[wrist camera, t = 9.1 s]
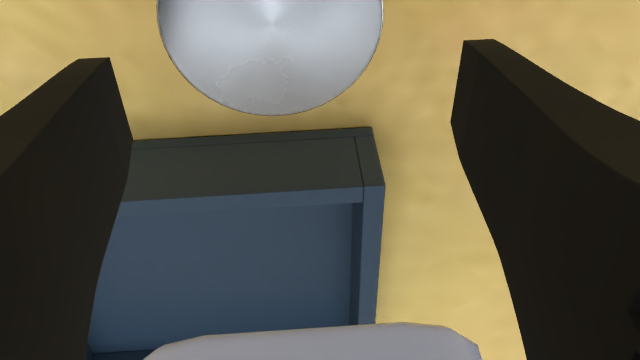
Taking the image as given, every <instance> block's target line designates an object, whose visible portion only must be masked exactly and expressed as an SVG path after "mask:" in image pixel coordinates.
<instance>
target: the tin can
mask: <svg viewBox="0 0 640 360" xmlns="http://www.w3.org/2000/svg"><path fill="white" fill-rule="evenodd" d="M156 9H157V22H158V27H159V32H160V36H161V38H162V41H163V44H164V47H165V49H166V51H167V53H168V55H169V57H170V59H171V60H172V62H173V63H174V65H175V66H176V68H177V69H178V71H179V72H180V73H181V74H182V75H183V76H184V78H185V79H186V80H187V81H188V82H189V83H190V84H191V85H193V86H194V87H195V88H196V89H197V90H198V91H200V92H201V93H202V94H204V95H205V96H207V97H208V98H210V99H212V100H214V101H215V102H217V103H219V104H221V105H224V106H226V107H228V108H231V109H234V110H237V111H241V112H244V113H249V114H255V115H266V116H279V115H289V114H296V113H300V112H304V111H307V110H311V109H313V108H316V107H318V106H321V105H323V104H325V103H327V102H329V101H330V100H332V99H334V98H335V97H337V96H338V95H340V94H341V93H343V92H344V91H345V90H346V89H347V88H349V87H350V86H351V85H352V84H353V83H354V82H355V81H356V80H357V79H358V77H359V76H360V75H361V74H362V73H363V71H364V70H365V68H366V67H367V65H368V64H369V62H370V61H371V59H372V57H373V55H374V53H375V51H376V48H377V45H378V42H379V40H380V35H381V31H382V26H383V13H384V11H383V0H157V4H156Z"/></svg>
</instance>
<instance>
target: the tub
mask: <svg viewBox="0 0 640 360" xmlns="http://www.w3.org/2000/svg"><path fill="white" fill-rule="evenodd" d="M384 198H385V182H384V177H383V173H382V169H381V165H380V160H379V156H378V152H377V147H376V143H375V139H374V135H373V130H372V128H371V127H366V128H349V129H331V130H314V131H297V132H280V133H262V134H245V135H228V136H211V137H193V138H176V139H159V140H142V141H133V142H132V150H131V159H130V166H129V172H128V179H127V182H126V186H125V189H124V193H123V196H122V200H121V203H120V206H119V210H118V213H117V216H116V220H115V223H114V226H113V229H112V233H111V236H110V239H109V243H108V246H107V249H106V252H105V256H104V259H103V262H102V266H101V270H100V274H99V278H98V282H97V287H96V293H95V299H94V304H93V310H92V316H91V322H90V328H89V335H88V342H87V348H86V355H85V360H143V359H144V358H146V357H147V356H148V355H150V354H151V353H152V352H153V351H155V350H156V349H157V348H159V347H161V346H163V345H165V344H169V343H174V342H178V341H182V340H187V339H191V338H195V337H200V336H204V335H218V334H233V333H248V332H263V331H278V330H292V329H307V328H322V327H337V326H352V325H367V324H375V316H376V303H377V290H378V277H379V264H380V251H381V237H382V224H383V211H384Z"/></svg>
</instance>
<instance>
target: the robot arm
mask: <svg viewBox="0 0 640 360" xmlns="http://www.w3.org/2000/svg"><path fill="white" fill-rule="evenodd" d="M451 126H452V131H453V135H454V139H455V143H456V147H457V151H458V155H459V159H460V162H461V164H462V167H463V169H464V172H465V174H466V176H467V179H468V181H469V184H470V186H471V188H472V191H473V193H474V195H475V198H476V200H477V202H478V205H479V207H480V210H481V212H482V214H483V217H484V219H485V221H486V224H487V226H488V228H489V231H490V233H491V235H492V238H493V240H494V243H495V246H496V248H497V251H498V254H499V257H500V260H501V263H502V267H503V270H504V274H505V277H506V281H507V284H508V287H509V291H510V294H511V298H512V302H513V306H514V310H515V313H516V317H517V321H518V325H519V329H520V333H521V336H522V341H523V345H524V349H525V353H526V358H527V360H640V121H639V120H636V119H634V118H632V117H630V116H627V115H625V114H623V113H620V112H618V111H616V110H614V109H612V108H610V107H608V106H606V105H604V104H602V103H600V102H599V101H597V100H595V99H593V98H591V97H589V96H588V95H586V94H584V93H582V92H580V91H578V90H577V89H575V88H573V87H571V86H570V85H568V84H566V83H565V82H563V81H561V80H560V79H558V78H556V77H555V76H553V75H552V74H550V73H548V72H547V71H545V70H544V69H542V68H540V67H539V66H537V65H536V64H534V63H533V62H531V61H529V60H528V59H526V58H525V57H523V56H522V55H520V54H518V53H517V52H515V51H514V50H512V49H510V48H509V47H507V46H505V45H504V44H502V43H500V42H498V41H496V40H494V39H485V40H464V42H463V48H462V54H461V60H460V66H459V72H458V79H457V85H456V91H455V97H454V103H453V110H452V116H451ZM132 142H133V138H132V134H131V131H130V127H129V124H128V120H127V117H126V113H125V110H124V106H123V103H122V99H121V96H120V92H119V89H118V85H117V82H116V78H115V75H114V71H113V68H112V64H111V61H110V57H108V58H87V59H78V60H76V61H75V62H73V63H71V64H70V65H68V66H67V67H65V68H64V69H63V70H61V71H60V72H59V73H57V74H56V75H55V76H53V77H52V78H51V79H49V80H48V81H47V82H45V83H44V84H43V85H42V86H40V87H39V88H38V89H36V90H35V91H34V92H32V93H31V94H30V95H28V96H27V97H26V98H25V99H23V100H22V101H21V102H19V103H18V104H17V105H15V106H14V107H13V108H11V109H10V110H8V111H7V112H5V113H4V114H3V115H1V116H0V360H85V355H86V348H87V342H88V335H89V328H90V322H91V316H92V310H93V304H94V299H95V293H96V287H97V282H98V278H99V274H100V270H101V266H102V262H103V259H104V256H105V252H106V249H107V246H108V243H109V239H110V236H111V233H112V229H113V226H114V223H115V220H116V216H117V213H118V210H119V206H120V203H121V200H122V196H123V193H124V189H125V186H126V182H127V179H128V172H129V166H130V159H131V150H132ZM143 360H482V358H481V355H480V352H479V348H478V345H477V344H475V343H473V342H472V341H470V340H468V339H467V338H465V337H463V336H462V335H460V334H458V333H457V332H455V331H453V330H452V329H450V328H447V327H445V326H440V325H430V324H419V323H409V322H397V323H382V324H367V325H352V326H337V327H322V328H307V329H292V330H278V331H263V332H248V333H233V334H218V335H204V336H200V337H195V338H191V339H187V340H182V341H178V342H174V343H169V344H165V345H163V346H161V347H159V348H157V349H156V350H155V351H153V352H152V353H151V354H150V355H148V356H147V357H146V358H144V359H143Z"/></svg>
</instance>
